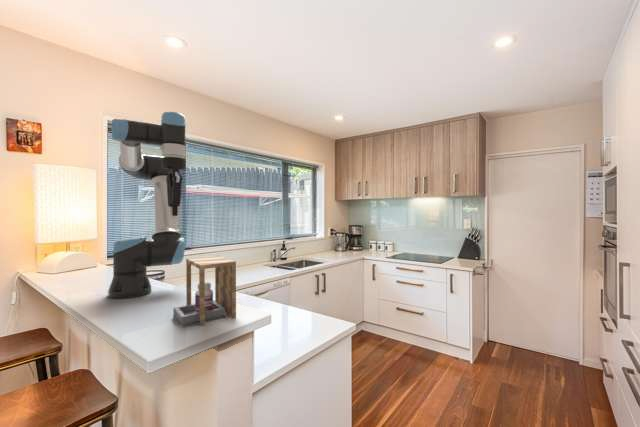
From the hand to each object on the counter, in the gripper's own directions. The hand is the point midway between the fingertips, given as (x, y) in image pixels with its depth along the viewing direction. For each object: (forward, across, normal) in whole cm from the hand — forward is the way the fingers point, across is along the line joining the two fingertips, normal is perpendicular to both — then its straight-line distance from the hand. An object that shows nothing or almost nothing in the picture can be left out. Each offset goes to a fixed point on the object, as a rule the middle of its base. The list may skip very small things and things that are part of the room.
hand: (174, 225), depth 104 cm
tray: (+29, +14, +4) cm, 33 cm away
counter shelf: (+29, +14, +8) cm, 34 cm away
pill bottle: (+29, +14, +6) cm, 33 cm away
